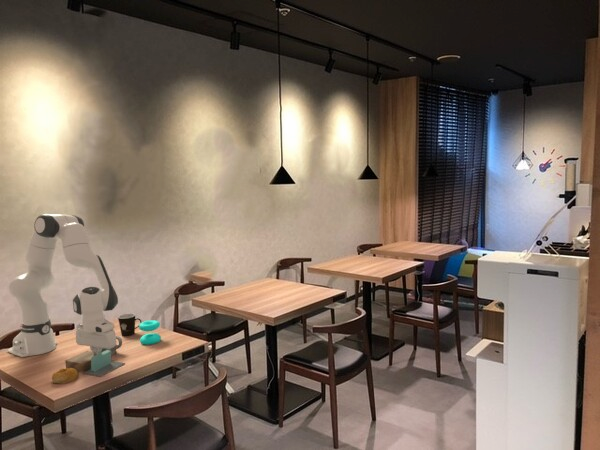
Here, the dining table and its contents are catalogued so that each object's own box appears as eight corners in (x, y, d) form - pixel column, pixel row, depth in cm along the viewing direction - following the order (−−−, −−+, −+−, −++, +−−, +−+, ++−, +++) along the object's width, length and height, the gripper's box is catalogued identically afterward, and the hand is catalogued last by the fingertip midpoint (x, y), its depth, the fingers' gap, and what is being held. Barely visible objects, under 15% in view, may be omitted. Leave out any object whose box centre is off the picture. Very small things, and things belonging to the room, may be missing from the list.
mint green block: (91, 357, 201) (95, 358, 201) (107, 349, 210) (111, 351, 209) (90, 370, 202) (94, 371, 202) (106, 362, 211) (110, 363, 210)
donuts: (154, 325, 230) (135, 325, 231) (156, 345, 231) (136, 345, 232) (162, 319, 240) (143, 319, 241) (164, 338, 241) (145, 338, 242)
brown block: (66, 369, 206) (65, 360, 206) (88, 359, 217) (87, 350, 217) (84, 372, 202) (83, 363, 202) (106, 362, 213) (105, 353, 213)
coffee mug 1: (88, 357, 220) (86, 336, 219) (102, 349, 229) (100, 329, 228) (114, 358, 217) (112, 337, 216) (126, 350, 226) (125, 330, 225)
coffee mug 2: (116, 335, 248) (114, 317, 247) (130, 330, 255) (128, 312, 254) (129, 339, 242) (127, 320, 241) (143, 334, 249) (142, 315, 247)
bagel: (83, 372, 202) (81, 362, 202) (72, 384, 191) (70, 373, 191) (59, 374, 202) (57, 364, 201) (47, 386, 191) (45, 375, 190)
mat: (82, 373, 201) (82, 372, 201) (107, 361, 214) (107, 360, 214) (100, 376, 197) (100, 375, 197) (125, 363, 210) (125, 363, 210)
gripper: (70, 325, 206) (73, 356, 208) (106, 329, 198) (109, 361, 200) (82, 320, 212) (85, 350, 213) (117, 324, 204) (120, 355, 205)
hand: (97, 356), depth 206 cm, fingers closed
